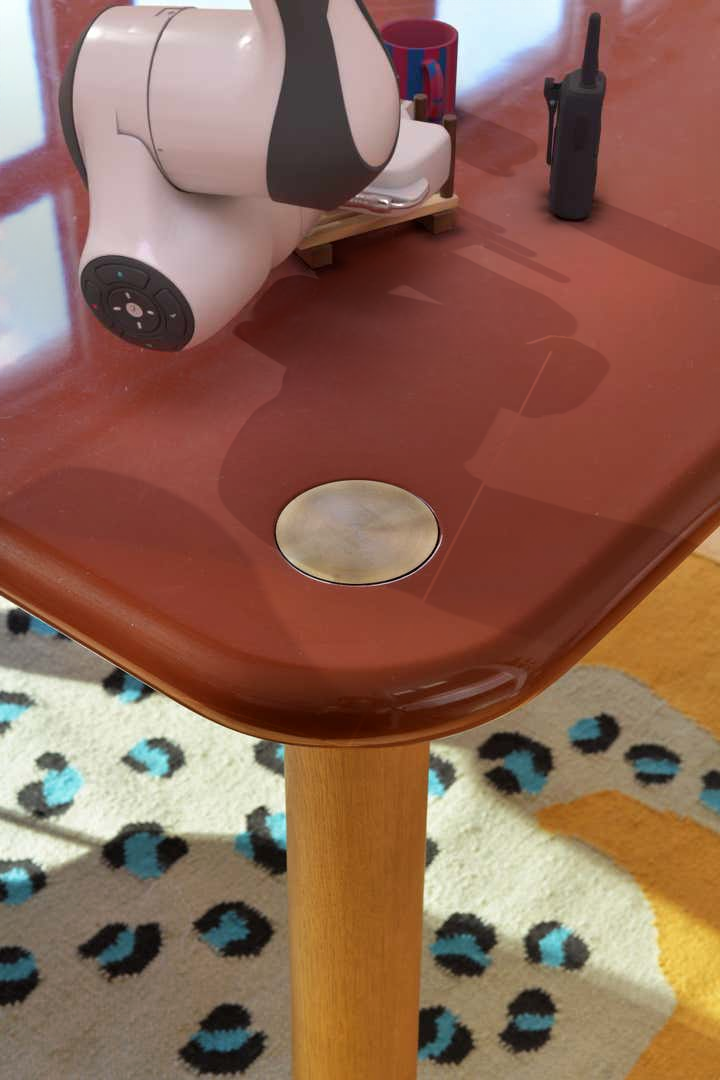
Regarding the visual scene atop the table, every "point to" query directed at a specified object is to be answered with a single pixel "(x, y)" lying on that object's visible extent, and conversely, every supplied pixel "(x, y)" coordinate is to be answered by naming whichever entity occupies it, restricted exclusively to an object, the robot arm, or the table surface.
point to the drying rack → (350, 223)
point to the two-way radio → (576, 131)
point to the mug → (425, 62)
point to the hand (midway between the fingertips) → (340, 99)
